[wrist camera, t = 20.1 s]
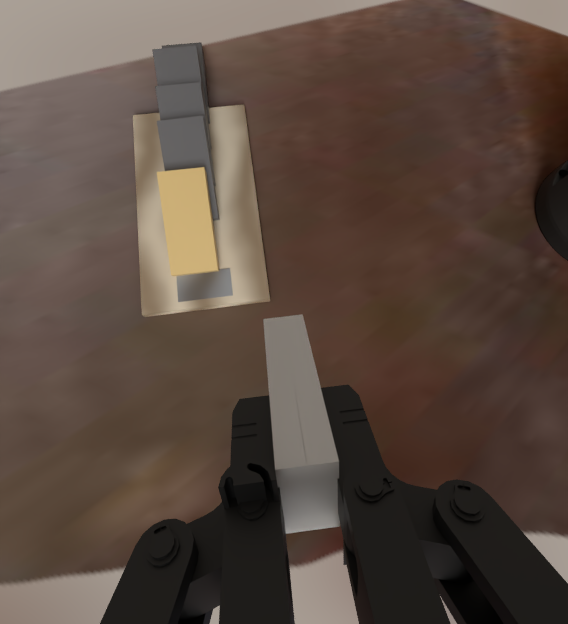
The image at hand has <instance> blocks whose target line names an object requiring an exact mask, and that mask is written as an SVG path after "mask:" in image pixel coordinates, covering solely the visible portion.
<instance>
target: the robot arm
mask: <svg viewBox="0 0 568 624" xmlns="http://www.w3.org/2000/svg"><path fill="white" fill-rule="evenodd" d="M536 215H537V220H538V223H539V226H540V228H541V231H542V233H543V234H544V236H545V238H546V239H547V241H548V242H549V243H550V245H551V246H552V247H553V248H554V249H555V250H556V251H557V252H558V253H559V254H560V255H561V256H562V257H564V258H565V259H566V260H568V160H567V161H565V162H564V163H563V164H561V165H560V166H559V167H558V168H557V169H555V170H554V171H553V172H552V173H551V174H550V175H548V176H547V178H546V179H545V180H544V181H543V183H542V184H541V186H540V188H539V190H538V193H537V198H536ZM263 320H264V333H265V346H266V359H267V372H268V384H269V396H261V397H253V398H245V399H239V401H238V403H237V405H236V407H235V408H234V410H233V414H232V440H231V465H230V467H229V468H228V469H227V470H226V471H225V473H224V474H223V476H222V477H221V480H220V483H219V487H218V488H219V492H220V495H221V499H222V502H221V504H220V505H219V506H218V507H217V508H216V509H214V510H213V511H212V512H210V513H208V514H207V515H205V516H203V517H201V518H199V519H196V520H194V521H192V522H190V523H188V524H186V523H185V522H183V521H180V520H177V519H167V520H163V521H161V522H158V523H156V524H154V525H152V526H151V527H150V528H149V529H148V530H147V531H146V532H145V533H143V535H142V536H141V538H140V539H139V541H138V543H137V544H136V546H135V548H134V550H133V552H132V555H131V557H130V559H129V561H128V563H127V566H126V568H125V570H124V572H123V574H122V577H121V579H120V581H119V583H118V585H117V587H116V590H115V592H114V594H113V596H112V599H111V601H110V603H109V605H108V607H107V609H106V612H105V614H104V616H103V618H102V620H101V623H100V624H209V623H210V619H211V615H212V611H213V609H214V608H215V607H217V606H219V605H220V615H219V624H295V623H294V613H293V601H292V591H291V580H290V569H289V559H288V552H287V543H286V534H287V533H294V532H301V531H309V530H316V529H323V528H331V527H338V526H340V524H341V529H342V533H343V538H344V565H347V568H348V572H349V578H350V582H351V587H352V592H353V597H354V601H355V606H356V611H357V616H358V621H359V624H450V621H449V619H448V616H447V613H446V611H445V608H444V605H443V603H442V600H441V598H440V596H441V597H442V599H443V601H444V603H445V604H446V606H447V608H448V609H449V611H450V613H451V614H452V616H453V617H454V619H455V621H456V622H457V624H568V583H567V582H566V581H565V580H564V579H563V578H562V577H561V575H560V574H559V573H558V572H557V571H556V570H555V569H554V568H553V566H552V565H551V564H550V563H549V562H548V561H547V560H546V559H545V557H544V556H543V555H542V554H541V553H540V552H539V551H538V549H537V548H536V547H535V546H534V545H533V544H532V543H531V541H530V540H529V539H528V538H527V537H526V536H525V535H524V533H523V532H522V531H521V530H520V529H519V528H518V527H517V525H516V524H515V523H514V522H513V521H512V520H511V519H510V518H509V516H508V515H507V514H506V513H505V512H504V511H503V510H502V508H501V507H500V506H499V505H498V504H497V503H496V502H495V500H494V499H493V498H492V497H491V496H490V495H489V494H488V493H487V492H485V491H484V490H483V489H482V488H481V487H479V486H477V485H475V484H473V483H471V482H468V481H462V480H452V481H446V482H445V483H444V484H442V485H441V486H439V488H438V490H435V489H429V488H423V487H418V486H413V485H410V484H406V483H404V482H402V481H400V480H399V479H397V478H396V477H395V476H393V475H392V474H391V473H390V472H389V470H388V469H387V468H386V466H385V464H384V462H383V460H382V458H381V455H380V452H379V449H378V447H377V444H376V441H375V438H374V436H373V433H372V430H371V427H370V425H369V422H368V420H367V416H366V414H365V411H364V409H363V406H362V403H361V400H360V397H359V395H358V394H357V393H356V392H355V391H354V390H353V389H352V388H351V387H350V386H349V385H342V386H334V387H326V388H321V387H320V383H319V379H318V375H317V371H316V367H315V363H314V359H313V355H312V351H311V347H310V343H309V339H308V335H307V331H306V327H305V323H304V319H303V315H295V316H286V317H278V318H269V319H263ZM439 594H440V595H439Z"/></svg>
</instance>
